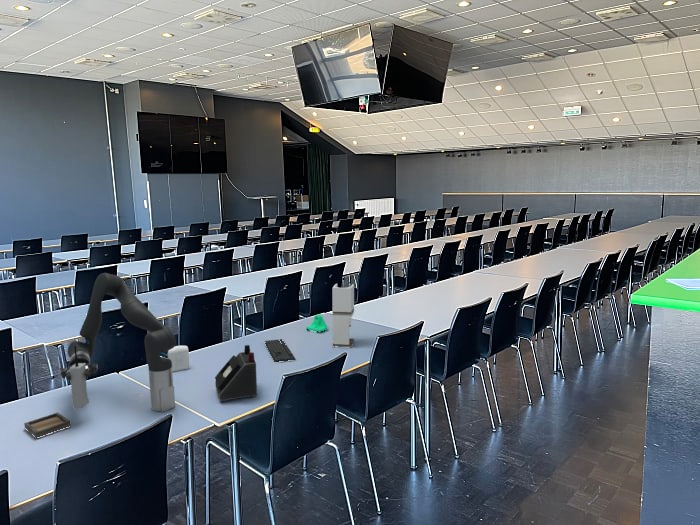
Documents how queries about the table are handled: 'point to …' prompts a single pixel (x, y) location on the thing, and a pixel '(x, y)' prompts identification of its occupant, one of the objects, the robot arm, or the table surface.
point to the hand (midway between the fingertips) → (78, 376)
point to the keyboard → (279, 350)
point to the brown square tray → (47, 424)
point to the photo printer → (179, 358)
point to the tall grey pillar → (342, 315)
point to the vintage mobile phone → (78, 384)
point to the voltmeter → (237, 377)
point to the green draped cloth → (317, 324)
